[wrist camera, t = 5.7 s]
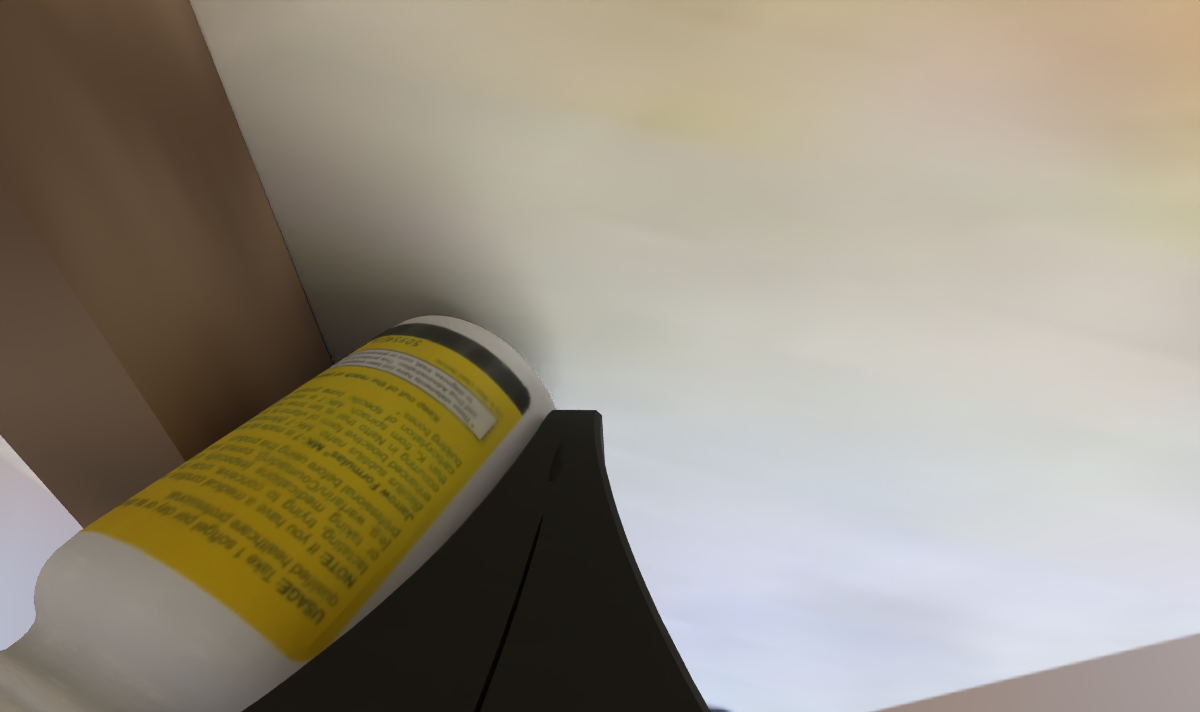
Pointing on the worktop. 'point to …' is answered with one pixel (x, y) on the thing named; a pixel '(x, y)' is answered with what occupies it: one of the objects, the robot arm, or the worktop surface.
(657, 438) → the worktop surface
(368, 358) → the supplement bottle
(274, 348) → the walnut board
